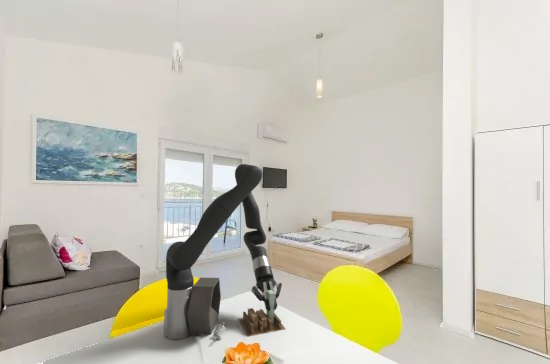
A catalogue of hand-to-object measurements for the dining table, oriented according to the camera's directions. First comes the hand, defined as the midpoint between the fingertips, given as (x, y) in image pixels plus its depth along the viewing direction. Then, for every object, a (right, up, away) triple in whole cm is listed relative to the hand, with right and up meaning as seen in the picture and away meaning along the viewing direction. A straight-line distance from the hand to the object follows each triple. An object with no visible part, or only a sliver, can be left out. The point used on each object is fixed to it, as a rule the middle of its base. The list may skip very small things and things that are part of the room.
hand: (272, 309), depth 104 cm
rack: (-4, -7, 0) cm, 8 cm away
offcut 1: (-8, -6, -1) cm, 10 cm away
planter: (-26, -7, -1) cm, 27 cm away
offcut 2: (-4, -6, +1) cm, 7 cm away
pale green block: (-1, -6, +2) cm, 6 cm away
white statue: (-20, -7, -9) cm, 23 cm away
